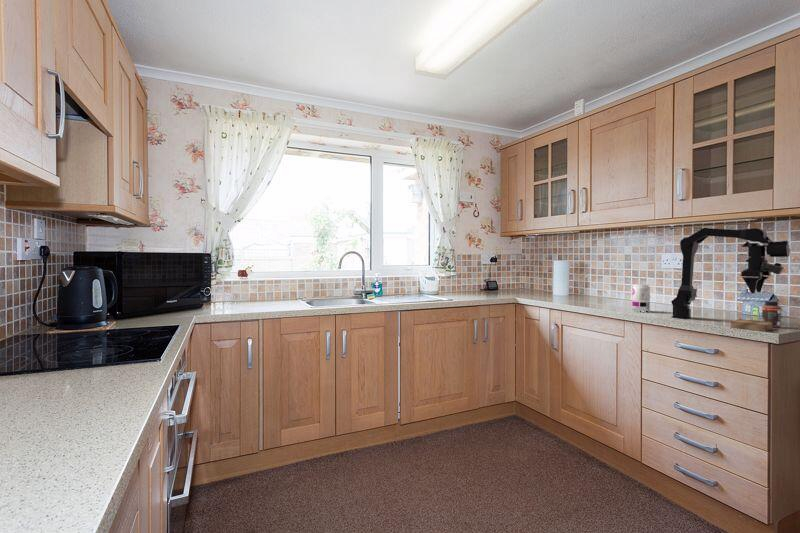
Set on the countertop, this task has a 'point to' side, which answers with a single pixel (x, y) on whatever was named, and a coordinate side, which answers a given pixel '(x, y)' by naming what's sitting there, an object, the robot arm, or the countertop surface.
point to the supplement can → (641, 297)
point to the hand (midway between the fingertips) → (756, 292)
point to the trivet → (751, 325)
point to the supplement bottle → (771, 313)
